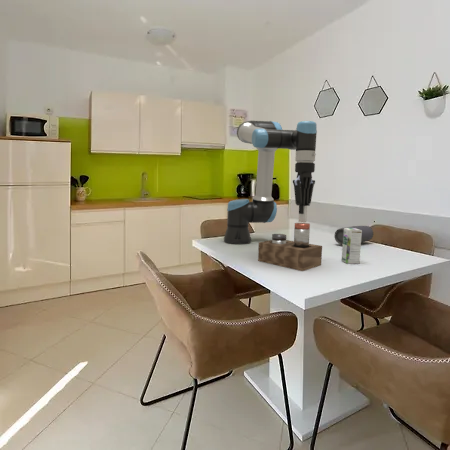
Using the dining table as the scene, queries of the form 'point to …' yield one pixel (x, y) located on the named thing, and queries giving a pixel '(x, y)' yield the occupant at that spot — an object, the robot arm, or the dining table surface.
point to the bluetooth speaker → (366, 230)
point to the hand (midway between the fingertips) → (302, 221)
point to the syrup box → (351, 245)
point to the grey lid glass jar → (279, 238)
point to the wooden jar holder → (290, 255)
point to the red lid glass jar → (301, 235)
